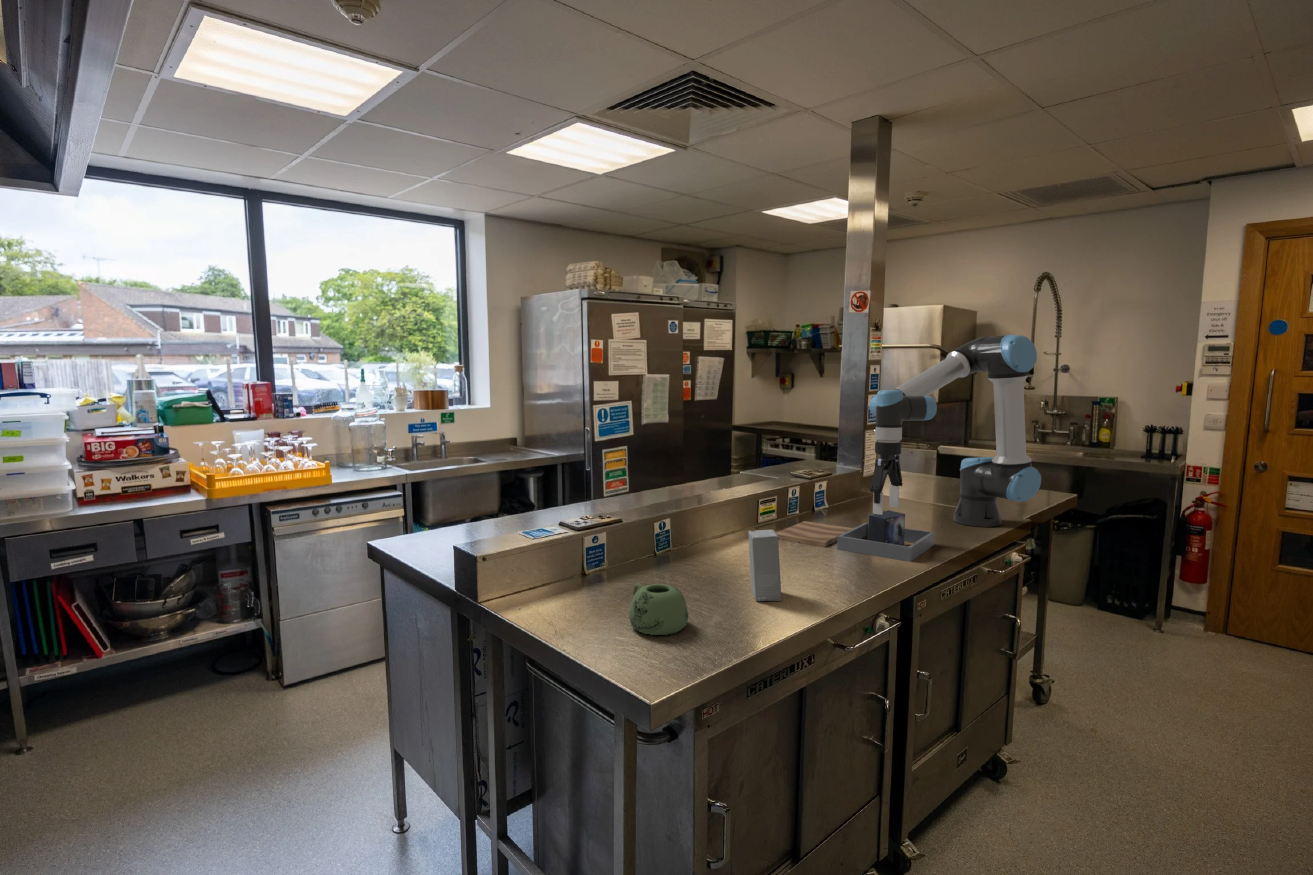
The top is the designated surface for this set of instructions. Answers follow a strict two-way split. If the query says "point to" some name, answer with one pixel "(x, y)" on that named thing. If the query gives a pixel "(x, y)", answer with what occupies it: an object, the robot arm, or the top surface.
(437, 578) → the top surface
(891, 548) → the bin
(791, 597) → the top surface
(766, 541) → the skincare box
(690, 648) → the top surface
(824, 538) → the walnut board
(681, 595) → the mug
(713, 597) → the top surface
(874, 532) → the small box
